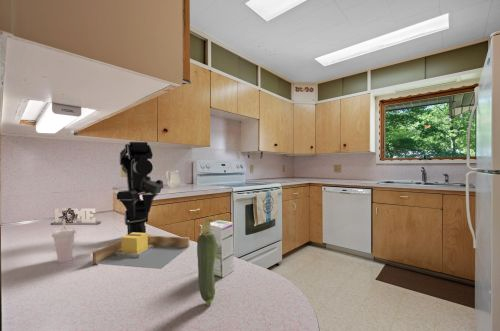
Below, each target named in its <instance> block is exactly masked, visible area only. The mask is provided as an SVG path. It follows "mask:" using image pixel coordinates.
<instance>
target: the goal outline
mask: <svg viewBox="0 0 500 331" xmlns="http://www.w3.org/2000/svg"><path fill="white" fill-rule="evenodd" d="M152 249H154V245H148V248H147V249H145V250H143V251H141V252H140V253H138V254H137V253H122V249H121V250H119V251H117V252H115V253H114V256H118V257H132V258H139V257H141V256H142V255H144V254H146V253H147V252H149V251H151V250H152Z"/></svg>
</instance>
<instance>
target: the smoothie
mask: <svg viewBox="0 0 500 331" xmlns="http://www.w3.org/2000/svg"><path fill="white" fill-rule="evenodd" d="M62 221H63V222H62V225H63V226H62V228H63V229H59V230H55V231H53V232H52V233H51V237H52V238H53V242H54V247H55V251H56V258H57V262H58V263H66V261H67V262H69V260H70V261H72V259H73V253H74V252H73V251H74V250H73V249H74V241H75V234H76V229H74V228H69V229H68V228H66V218H63V219H62Z"/></svg>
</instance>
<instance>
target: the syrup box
mask: <svg viewBox="0 0 500 331" xmlns="http://www.w3.org/2000/svg"><path fill="white" fill-rule="evenodd" d="M210 224H211V225H210V227H211V228H210V230H211V231H209V232H212V233H213V235H214V236H215V238H216V257H215V262H214V276H216V277H220V278H225V277H227V276H228V275H230V274H231V273H233V272H234V271H235V257H234V256H235V255H234V251H235V250H234V223H233V221H227V220H226V221H225V220H219V219H218V220H213V222H211V221H210Z"/></svg>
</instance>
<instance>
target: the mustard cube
mask: <svg viewBox="0 0 500 331" xmlns="http://www.w3.org/2000/svg"><path fill="white" fill-rule="evenodd" d="M147 235H148V232H146V233H136V232H132V233H130V234H128V233H127V234H126V235H124V236H122V237H120V238H121V239H120V240H121V244H122V253H137V254H138V253H140V252H141V251H143V250H145V249H147V248H148V236H147Z"/></svg>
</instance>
